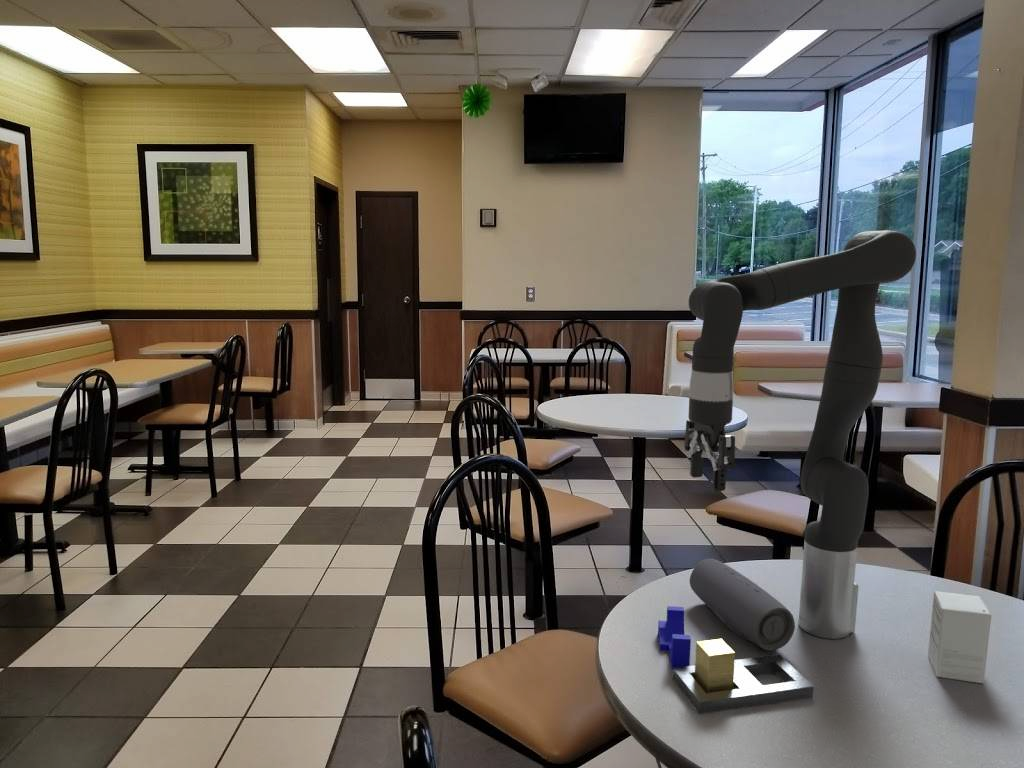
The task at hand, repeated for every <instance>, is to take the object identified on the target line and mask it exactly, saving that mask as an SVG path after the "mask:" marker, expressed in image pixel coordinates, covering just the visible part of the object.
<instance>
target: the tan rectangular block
mask: <svg viewBox="0 0 1024 768" xmlns="http://www.w3.org/2000/svg"><path fill="white" fill-rule="evenodd" d="M735 658H736V652H735V651H734V650H733V649H732V648H731V647H730V646H729V645H728V644H727V643H726V642H725V641H724V640H723V638H717V639H710V640H709V639H708V640H700V641H696V644H695V661H694V665H695V681H696V682H697V683H698V684H699V686H700V687H701V688H702V689H703V690H704V692H705V693H712V692H719V691H726V690H733V679H734V661H735V660H736V659H735Z"/></svg>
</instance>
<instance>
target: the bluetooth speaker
mask: <svg viewBox="0 0 1024 768" xmlns="http://www.w3.org/2000/svg"><path fill="white" fill-rule="evenodd" d="M689 585H690V588H691V590H692V591H693V593H694V594H695V595H696V597H698V598H699V599H700V600H701V601H702V602H703V603H704V604H705V605H706V606H707V607H708V608H709V609H711V610H712V611H713V612H714V614H715V615H716V616H718V618H719V620H720V621H721V622H723V624H725V625H726V626H728V628H729V629H731V630H732V631H733V632H734V633H735V634H737V635H738V636H740V637H741V638H742V639H744V640H746V641H750V642H752V643H753V644H755V645H756V646H758V647H760V648H762V649H763V650H765V651H776V650H779V649H781V648H783V647H784V646H787V644H788V643H789V642H790V641H791V639H792V637H793V636H794V633H795V630H796V625H795V619H794V616H793V614H792V613H791V611H790V610H789V609H787V606H785V605H783V603H781V602H780V601H779V600H778V599H777V598H775V597H774V596H772V595H771V594H770V593H768V591H766V590H765V589H763V588H762V587H761V586H759V585H758V584H757V583H755V582H753V581H752V580H751V579H749V578H747V577H746V576H745V575H743V573H742V574H741V573H740V572H739V571H737V570H736V569H734V568H732V567H731V566H729V565H728V564H725V562H722V561H720V560H717V559H715V558H705V559H702V560H700V561H699V562H697V564H696V565H695V566H694V568H693V569H692V571H691V574H690V576H689ZM711 610H710V611H711Z"/></svg>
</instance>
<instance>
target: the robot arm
mask: <svg viewBox="0 0 1024 768" xmlns="http://www.w3.org/2000/svg"><path fill="white" fill-rule="evenodd" d="M916 259H917V249H916V245H915V243H914V242H913V240H912V239H911V238H910V237H909V236H907V235H906V234H905V233H903V232H900V231H895V230H887V229H884V230H869V231H868V230H867V231H862V232H859V233H856V234H854V235H853V236H851V238H850V239H849V240H848V241H847V243H846V244H845V246H844V248H843V251H839V252H836V253H830V254H827V255H821V256H816V257H815V256H814V257H810V258H809V257H808V258H804V259H802V258H801V259H798V260H792V261H786V262H782V263H777V264H774V265H771V266H767V267H763V268H760V269H755V270H754V271H750V272H747V273H744V274H738V275H732V276H726V277H725V276H724V277H720V278H714V279H711V280H706V281H704V282H700V284H698V285H696V287H694V288H693V290H692V291H691V292H690V294H689V298H688V308H689V311H690V313H691V314H692V315H693V316H694V317H696V318H697V319H699V320H701V321H703V322H702V329H701V332H700V333H701V334H700V336H699V337H697V338H696V339H695V340H694V341H693V345H692V357H691V358H692V359H691V375H690V380H689V396H688V420H686V423H685V435H684V450H685V451H686V452H688V455H689V457H690V468H689V469H690V470H689V472H690V473H689V474H690V475H689V476H690V477H692V478H702V477H703V475H704V457H703V456H704V454H705V453H706V456H707V459H708V460H710V462H711V464H712V468H713V470H712V482H711V483H712V484H711V489H712V490H713V491H714V492H724V491H725V490H726V488H727V487H726V484H727V482H726V481H727V471H729V470H734V469H735V467H736V466H735V461H736V460H735V459H736V436H735V435H734V434H728V435H726V432H725V431H726V429H725V427H726V426H727V425H729V424H730V423H731V422H732V421H733V407H734V406H733V405H734V404H733V403H734V386H735V384H734V372H733V371H734V358H735V356H734V355H735V354H734V353H735V352H734V351H735V350H734V348H735V344H736V342H737V338H738V334H739V331H740V327H741V322H742V319H743V313H744V312H745V311H763V310H767V309H771V308H774V307H778V306H782V305H785V304H789V303H794V302H795V301H798V300H802V299H806V298H809V297H813V296H816V295H817V296H818V295H820V294H823V293H824V294H825V293H827V292H831V291H835V290H838V293H837V295H838V296H837V298H838V299H837V305H836V312H835V318H834V322H833V323H834V324H833V328H832V335H831V340H830V346H829V351H828V355H827V359H826V364H825V365H826V366H825V370H824V376H823V381H822V382H823V383H822V388H821V394H820V397H819V398H820V400H819V404H818V409H817V411H816V412H817V413H816V417H815V423H814V427H813V430H812V435H811V437H810V440H809V445H808V448H807V451H806V455H805V457H804V461H803V464H802V466H801V467H802V468H801V471H800V488H801V490H802V493H803V494H804V495H805V497H807V499H809V500H810V501H812V502H814V503H816V504H819V505H820V506H821V507H822V508H821V512H820V513H821V514H820V520H816V521H815V520H814V521H811V522H809V523H807V525H806V526H805V530H804V543H803V557H802V569H801V570H802V572H801V584H800V596H799V610H798V611H799V612H798V625H799V627H800V628H801V629H802V630H803V631H804V632H806V633H808V634H811V635H813V636H815V637H819V638H823V639H829V640H830V639H831V640H832V639H833V640H834V639H835V640H836V639H843V638H847V636H849V635H850V634H851V633H855V631H856V624H857V623H856V620H857V610H858V608H857V607H858V601H859V600H858V597H859V588H860V587H859V584H858V583H856V581H855V579H856V567H857V554H858V545H859V544H858V543H859V539H860V537H861V535H862V534H863V531H864V528H865V524H866V521H865V520H866V514H867V508H868V503H869V494H870V493H869V488H870V487H869V479H868V477H867V474H866V473H865V471H863V469H861V468H860V467H859V466H856V465H854V464H852V463H849V462H846V461H845V460H844V458H845V457H844V456H845V451H846V447H847V446H846V445H847V441H848V438H849V435H850V432H851V430H852V429H853V427H854V425H855V424H856V422H858V420H859V419H860V418H861V416H862V415H863V414H864V412H865V411H866V410H867V408H868V407H869V406H870V404H871V403H872V402H873V400H874V399H875V396H876V394H877V390H878V388H879V383H880V376H881V372H882V367H883V360H884V359H883V357H884V355H883V347H882V342H881V338H880V334H879V330H878V326H877V321H876V304H877V298H878V292H879V289H880V285H881V284H889V283H892V282H896V281H898V280H901V279H903V278H904V277H905V276H906V275H908V274H909V272H911V270H912V269H913V267H914V265H915V262H916ZM727 457H728V458H727Z"/></svg>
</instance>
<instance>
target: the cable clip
mask: <svg viewBox="0 0 1024 768" xmlns="http://www.w3.org/2000/svg"><path fill="white" fill-rule="evenodd" d="M657 625H658V627H657V635H658V638H657V639H658V645H659V651H660V652H668V655H669V661H670V667H671V670H672V671H673V668H677V667H685V666H691V665H690V664H691V646H692V645H691V644H692V643H691V642H692V641H691V640H692V639H691V638H692V637H691V635H690V634H686V633H685V607H683V606H671V605H666V620H658V624H657Z"/></svg>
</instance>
